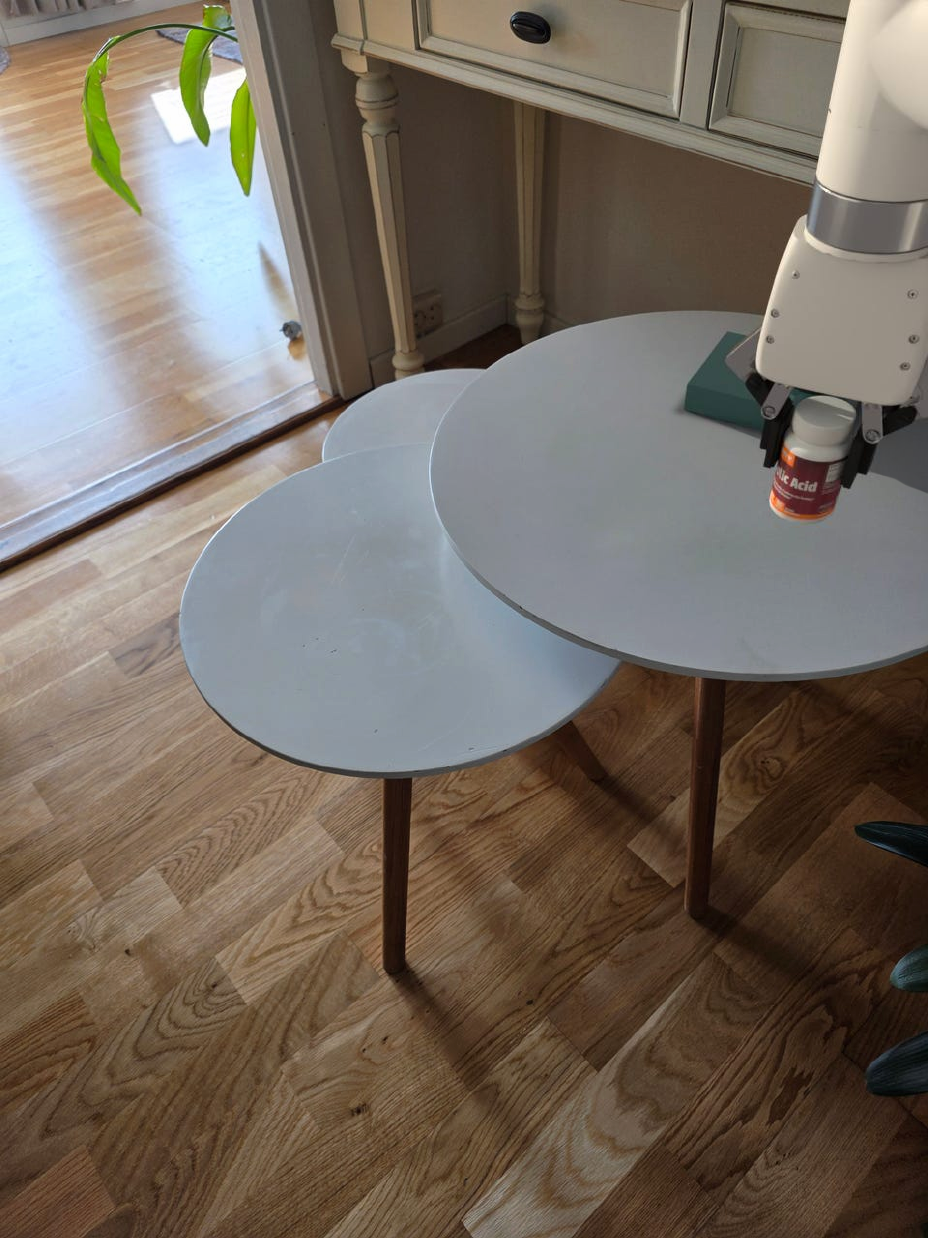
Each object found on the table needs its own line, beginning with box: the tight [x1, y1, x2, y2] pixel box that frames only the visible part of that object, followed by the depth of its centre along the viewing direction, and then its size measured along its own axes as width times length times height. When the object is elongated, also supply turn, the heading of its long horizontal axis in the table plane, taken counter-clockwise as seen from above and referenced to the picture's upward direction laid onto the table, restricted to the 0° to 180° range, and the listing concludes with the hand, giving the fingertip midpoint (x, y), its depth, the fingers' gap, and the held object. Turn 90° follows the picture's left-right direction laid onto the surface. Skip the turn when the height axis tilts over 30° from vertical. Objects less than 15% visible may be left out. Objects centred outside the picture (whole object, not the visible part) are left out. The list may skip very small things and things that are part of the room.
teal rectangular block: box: [683, 330, 860, 431], centre depth 92 cm, size 16×12×5 cm
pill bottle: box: [769, 396, 857, 525], centre depth 63 cm, size 5×5×8 cm
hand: (811, 465), depth 63 cm, fingers closed on pill bottle, 4 cm apart
